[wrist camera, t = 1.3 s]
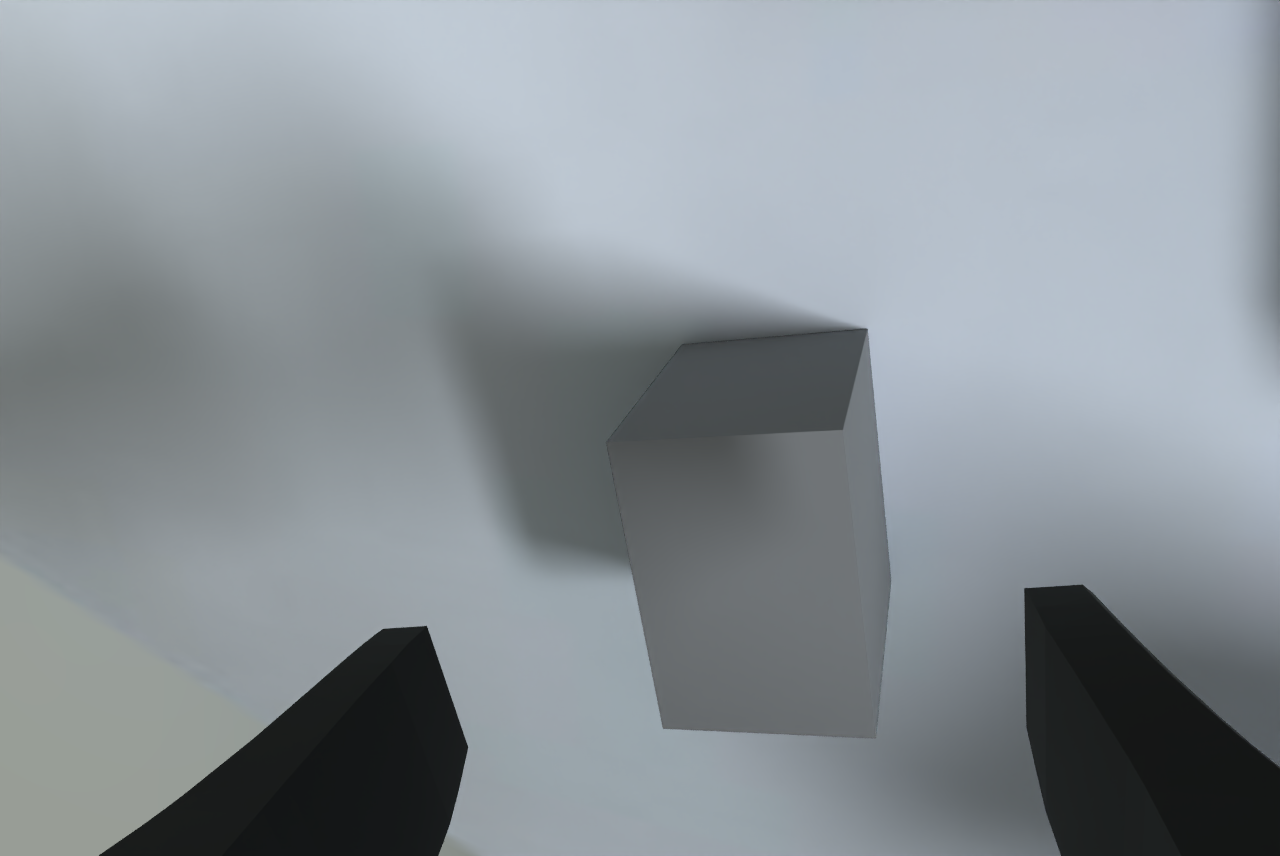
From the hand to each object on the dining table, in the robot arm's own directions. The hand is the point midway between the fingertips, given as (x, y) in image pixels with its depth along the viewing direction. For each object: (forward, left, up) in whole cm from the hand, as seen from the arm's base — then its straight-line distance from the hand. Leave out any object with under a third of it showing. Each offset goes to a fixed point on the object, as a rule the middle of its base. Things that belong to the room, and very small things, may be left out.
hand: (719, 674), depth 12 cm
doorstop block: (-2, +1, -11) cm, 11 cm away
